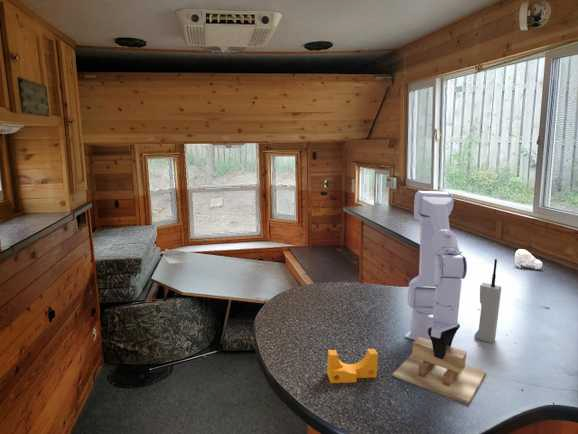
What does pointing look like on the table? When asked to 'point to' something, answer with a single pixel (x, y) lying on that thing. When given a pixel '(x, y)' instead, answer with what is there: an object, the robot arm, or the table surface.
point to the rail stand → (441, 379)
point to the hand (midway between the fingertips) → (441, 354)
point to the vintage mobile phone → (489, 309)
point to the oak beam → (451, 360)
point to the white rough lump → (526, 259)
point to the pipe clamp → (351, 367)
